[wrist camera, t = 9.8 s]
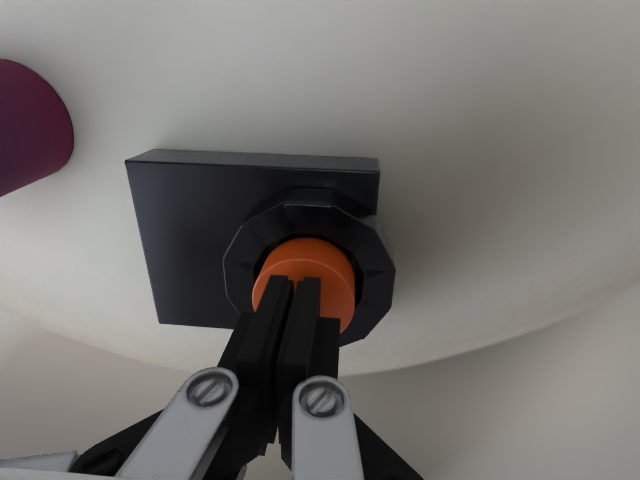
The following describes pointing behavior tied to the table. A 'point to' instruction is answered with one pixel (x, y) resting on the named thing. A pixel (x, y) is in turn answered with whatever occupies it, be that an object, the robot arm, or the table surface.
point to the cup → (30, 128)
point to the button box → (254, 228)
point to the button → (313, 274)
